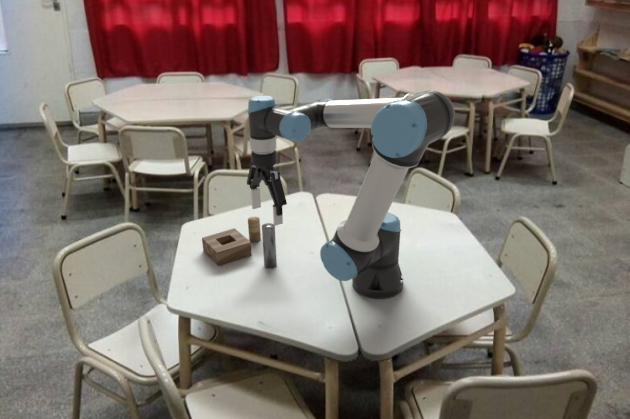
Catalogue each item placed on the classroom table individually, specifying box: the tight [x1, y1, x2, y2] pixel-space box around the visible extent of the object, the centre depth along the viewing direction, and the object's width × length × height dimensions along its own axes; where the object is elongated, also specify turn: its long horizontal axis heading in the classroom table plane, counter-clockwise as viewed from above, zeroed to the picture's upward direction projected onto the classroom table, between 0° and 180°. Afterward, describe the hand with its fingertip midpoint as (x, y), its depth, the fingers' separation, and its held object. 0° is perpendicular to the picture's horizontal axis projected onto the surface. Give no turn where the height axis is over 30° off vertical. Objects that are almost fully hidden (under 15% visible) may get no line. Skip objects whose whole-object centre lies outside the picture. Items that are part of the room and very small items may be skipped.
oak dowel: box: [247, 216, 262, 244], centre depth 190 cm, size 4×4×8 cm
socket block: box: [201, 228, 253, 267], centre depth 182 cm, size 12×12×5 cm
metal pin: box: [261, 222, 278, 269], centre depth 173 cm, size 4×4×14 cm
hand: (267, 215), depth 168 cm, fingers open, 13 cm apart
